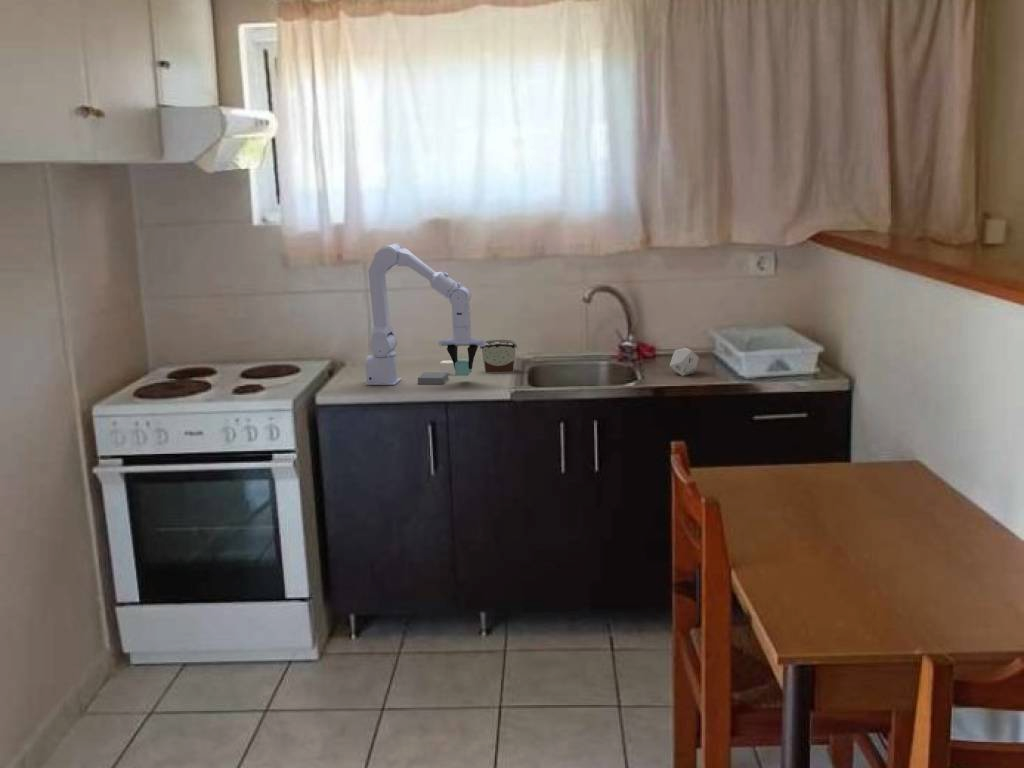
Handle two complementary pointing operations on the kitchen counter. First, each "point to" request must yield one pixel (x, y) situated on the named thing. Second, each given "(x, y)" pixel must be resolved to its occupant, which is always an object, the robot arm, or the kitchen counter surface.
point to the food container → (499, 356)
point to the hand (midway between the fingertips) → (463, 368)
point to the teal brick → (462, 367)
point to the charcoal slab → (433, 378)
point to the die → (684, 361)
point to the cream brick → (447, 367)
